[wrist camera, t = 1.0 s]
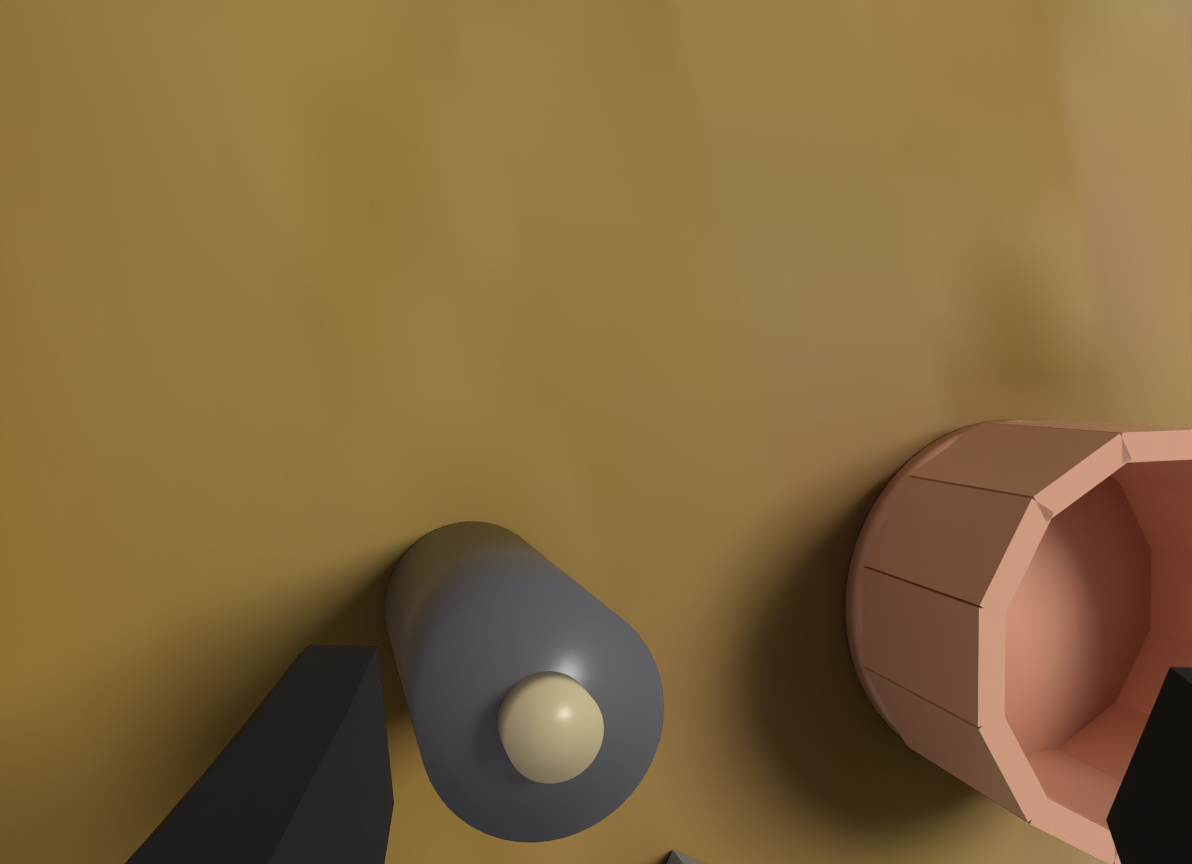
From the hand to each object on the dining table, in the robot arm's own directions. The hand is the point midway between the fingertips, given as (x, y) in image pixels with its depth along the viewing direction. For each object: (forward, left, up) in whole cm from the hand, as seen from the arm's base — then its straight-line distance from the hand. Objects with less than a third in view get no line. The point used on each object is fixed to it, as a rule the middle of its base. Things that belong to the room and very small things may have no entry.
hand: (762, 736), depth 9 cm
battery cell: (-2, 0, -13) cm, 13 cm away
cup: (+4, -12, -13) cm, 18 cm away
